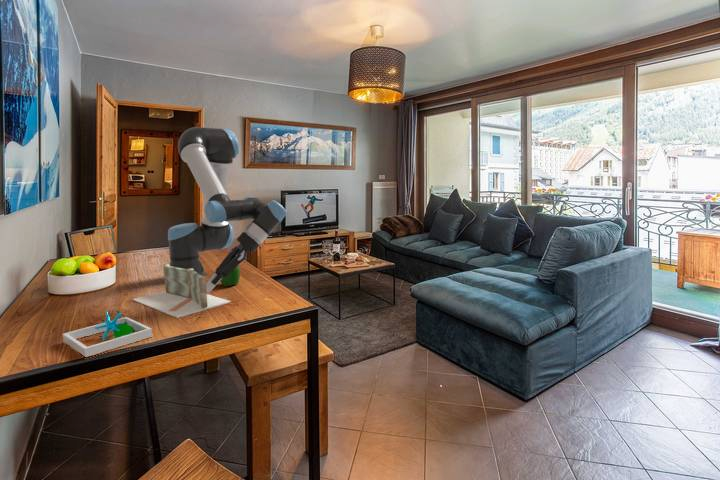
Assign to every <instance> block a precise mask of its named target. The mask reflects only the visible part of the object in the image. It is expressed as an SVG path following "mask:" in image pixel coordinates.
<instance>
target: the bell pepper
mask: <svg viewBox="0 0 720 480" xmlns="http://www.w3.org/2000/svg"><path fill="white" fill-rule="evenodd" d="M240 277H241V268H240V266H239V265H238V266H237V267H236V268H235V269H234V270H233V271H232V272H231V273H230V274H229V275H228V276H227V277H226V278H222V279H221V280H220V281H219V282H220V284H221V285H222V287H230V286H236V285H238V283H239V281H240Z"/></svg>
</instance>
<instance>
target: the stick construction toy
mask: <svg viewBox="0 0 720 480" xmlns="http://www.w3.org/2000/svg"><path fill="white" fill-rule="evenodd" d="M105 316H106V320H105V319H101V320H100V321H101V322H102V323H106V325H103V326H99V327H95V329H99V328H105V327H107V329H106V332H104V333H102V335H99V338H100V337H102V341H104V339H106V338H107V336H108V333H110V332H111V331H112V333H113V336H114V337H113V339H115V338H119V337H122V336H125V335H129V334H132V333H135V331H134V329H133V327H132V326H130V325H128V323H127V322H125V323H121V324H116V322H117V320H118V319H120V318H122V317H124V316H125V315H124V314H123V313H121V312H120V311H118V310H117V311H116V316H115V318H114V319H113V320H111V318H110V312H108V311H106V312H105ZM110 321H112V322H110ZM103 336H104V337H103Z"/></svg>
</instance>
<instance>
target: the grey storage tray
mask: <svg viewBox="0 0 720 480" xmlns="http://www.w3.org/2000/svg"><path fill="white" fill-rule="evenodd" d="M112 321H113V320H110V322H112ZM125 322H127V323H128V325H130V326H132V327H133V329H134V330H135V331H134V333H132V334H129V335H125V336H122V337H119V338H115V337H114V338H115V339H114V338H112V339H110V340H106V341H103V342H102V341H101V342H99V343H96V344H93V345H89V346H86V345H85V344H84V343H82V342H81V341H79V340H76V339H77V338H81V337H84V336H89V335H92V334H96V333H99V332H103V331H106V329H107V327H105V328H99V329H95V327H99V326H103V325H106V323H105V322H102V323H101V322H100V323H98V324H95V325H91V326H87V327H86V326H85V327H83V328H79V329H76V330H72V331H68V332H64V333H62V340H63V343H64V342H66V343H67V344H68V345H70V346H71V347H73V348H74V349H75V350H77V351H78V352H80V353H81V354H82V355H84V356H85V357H87V356H90V355H93V354H96V353H100V352H103V351H106V350H109V349H113V348H116V347H119V346H122V345H126V344H129V343H133V342H136V341H139V340H142V339H145V338H149V337H152V338H153V329H152V328H151V327H150V326H147V325H145V324H143V323H141V322H139V321H137V320H135V319H132V318H130V317H128V316H125V317H124V316H123V317H120V318H119V319H118V320H117V322H116V324H121V323H125ZM136 331H137V332H136ZM149 339H150V338H149ZM133 344H134V343H133Z"/></svg>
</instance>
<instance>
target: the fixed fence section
mask: <svg viewBox="0 0 720 480" xmlns="http://www.w3.org/2000/svg"><path fill="white" fill-rule="evenodd" d="M169 265H170V263H164V264H163V276H164V277H163V278H164V288H165V291H166V292H170V293H174V294H178V295H182V296H186V297H189V298H192V295H191V283H190V270H194V269H193V268H190V269H183V268H178V267H172V266H169Z"/></svg>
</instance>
